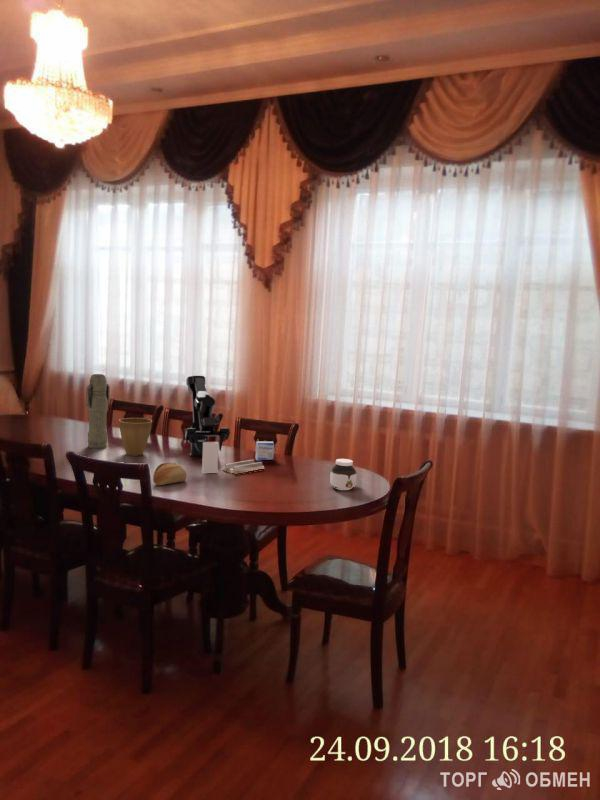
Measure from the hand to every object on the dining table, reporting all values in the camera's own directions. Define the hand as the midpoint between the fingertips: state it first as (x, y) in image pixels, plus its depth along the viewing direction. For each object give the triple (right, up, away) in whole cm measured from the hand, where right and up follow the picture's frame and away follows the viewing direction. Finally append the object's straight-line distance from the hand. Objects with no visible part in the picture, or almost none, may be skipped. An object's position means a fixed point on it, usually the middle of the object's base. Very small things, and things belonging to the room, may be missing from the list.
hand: (209, 450), depth 265 cm
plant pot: (-38, -4, +26) cm, 46 cm away
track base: (+14, -9, +7) cm, 18 cm away
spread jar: (+56, -14, -12) cm, 59 cm away
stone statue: (-59, -1, +36) cm, 69 cm away
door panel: (0, -9, 0) cm, 9 cm away
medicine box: (+22, -7, +28) cm, 36 cm away
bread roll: (-13, -12, -19) cm, 26 cm away
